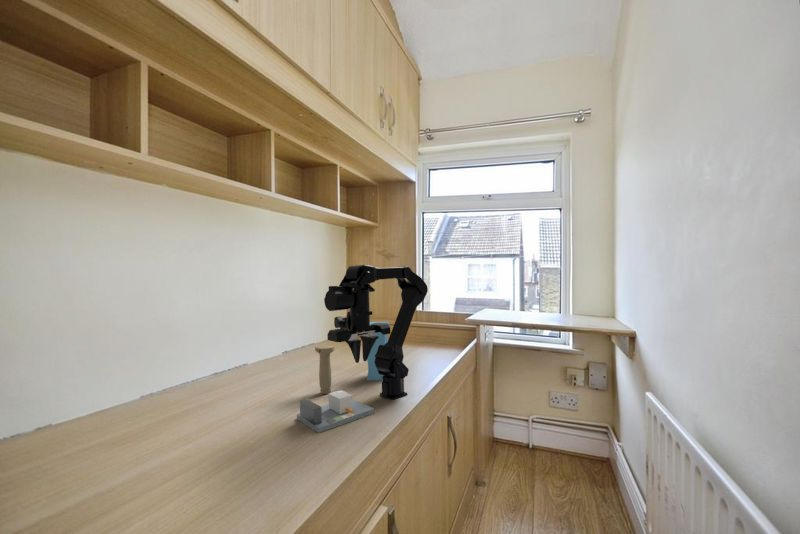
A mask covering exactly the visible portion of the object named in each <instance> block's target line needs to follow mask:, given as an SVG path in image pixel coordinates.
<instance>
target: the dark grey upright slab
mask: <svg viewBox="0 0 800 534" xmlns="http://www.w3.org/2000/svg"><path fill="white" fill-rule="evenodd" d="M321 407H322V406H320V405H318V404H317V403H315V402H313V401H311V400H310V399H308V398H306V399H303V400H299V413H300V417H302V418H304V419H305V420H307V421H308V422H310V423H311V424H313V425H318V424H320V423H322V409H321Z"/></svg>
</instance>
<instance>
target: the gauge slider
mask: <svg viewBox="0 0 800 534" xmlns="http://www.w3.org/2000/svg"><path fill="white" fill-rule="evenodd" d="M327 395H328V405H329V409H331V410H333V411H335V412H337V413H339V414H342V413H345V412H349V413H351V414H353V399H354V397H353V394H351V393H349V392H346V391H345V390H337V391H333V392H330V393H328V394H327Z"/></svg>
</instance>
